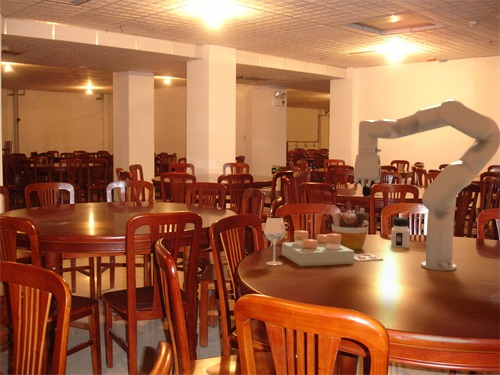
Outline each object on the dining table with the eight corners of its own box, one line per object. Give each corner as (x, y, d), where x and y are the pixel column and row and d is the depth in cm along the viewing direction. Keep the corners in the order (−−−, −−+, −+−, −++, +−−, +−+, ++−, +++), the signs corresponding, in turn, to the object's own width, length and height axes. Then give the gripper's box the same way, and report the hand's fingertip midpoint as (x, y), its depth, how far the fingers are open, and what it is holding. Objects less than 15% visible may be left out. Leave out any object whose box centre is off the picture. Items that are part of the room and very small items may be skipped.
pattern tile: (383, 260, 220) (383, 258, 220) (358, 261, 217) (358, 259, 217) (370, 254, 231) (370, 252, 231) (346, 255, 228) (346, 253, 228)
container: (409, 248, 248) (410, 219, 247) (391, 247, 249) (392, 218, 248) (408, 245, 255) (409, 217, 254) (391, 244, 257) (392, 216, 256)
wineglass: (259, 264, 209) (260, 217, 208) (269, 260, 216) (270, 215, 215) (279, 267, 205) (280, 219, 204) (288, 263, 212) (289, 216, 211)
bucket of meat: (369, 253, 235) (371, 206, 233) (330, 251, 237) (332, 205, 235) (365, 244, 255) (367, 201, 253) (330, 243, 257) (331, 200, 255)
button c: (319, 259, 212) (319, 241, 212) (305, 259, 211) (305, 241, 210) (313, 256, 218) (314, 239, 217) (300, 257, 216) (300, 239, 216)
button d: (309, 249, 222) (310, 232, 221) (296, 250, 220) (296, 232, 220) (304, 247, 227) (305, 230, 227) (291, 247, 226) (292, 230, 225)
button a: (342, 253, 215) (343, 235, 214) (329, 253, 214) (330, 236, 213) (336, 250, 220) (337, 233, 220) (324, 251, 219) (324, 233, 218)
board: (353, 263, 213) (354, 250, 213) (300, 266, 207) (300, 253, 207) (330, 252, 234) (331, 241, 234) (281, 254, 228) (282, 242, 228)
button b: (332, 253, 225) (332, 236, 224) (319, 253, 223) (320, 236, 223) (326, 250, 230) (327, 234, 230) (314, 251, 229) (314, 234, 228)
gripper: (388, 151, 220) (387, 197, 222) (352, 151, 227) (351, 195, 229) (383, 151, 214) (382, 198, 215) (346, 151, 221) (345, 196, 222)
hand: (366, 196), depth 222 cm, fingers closed
